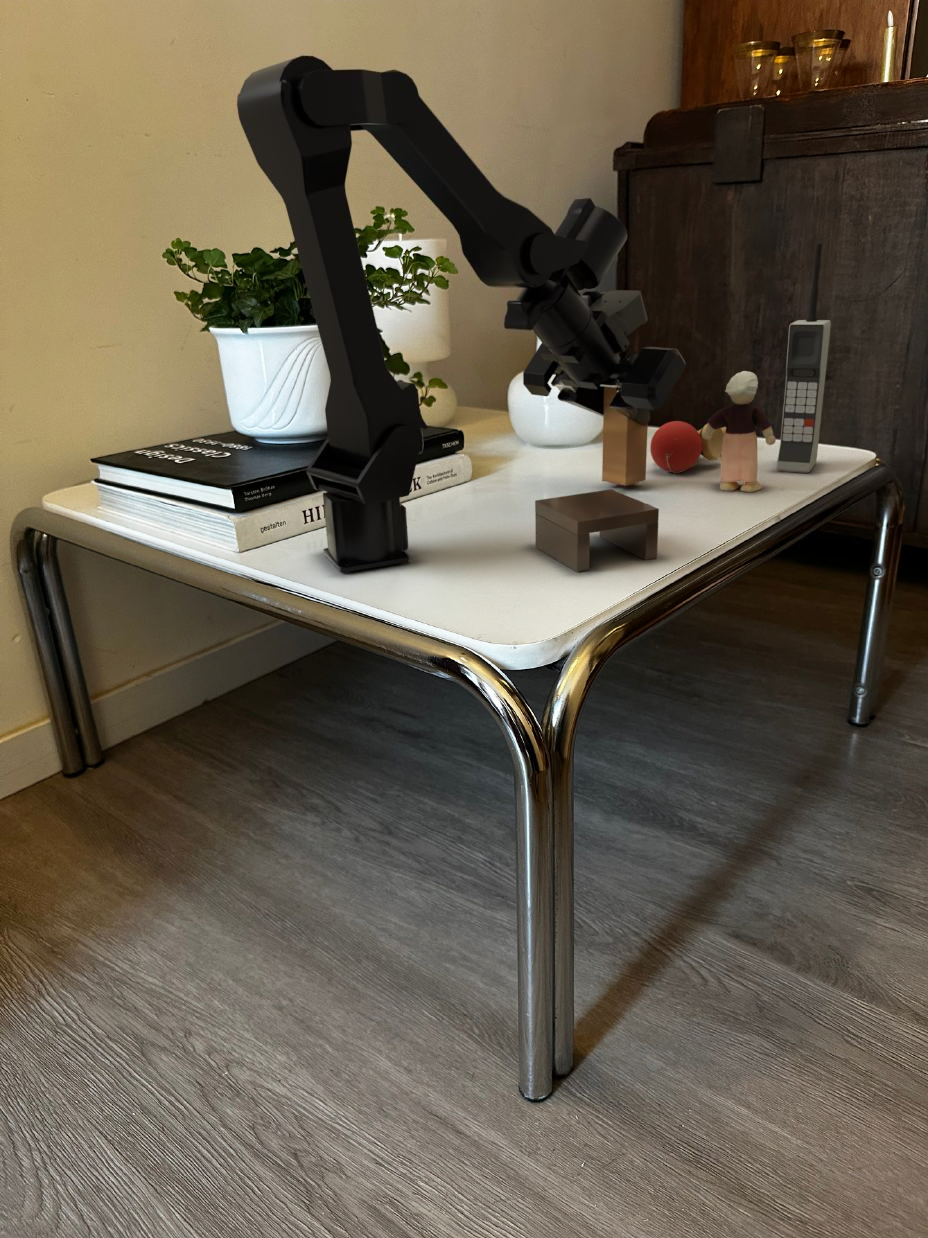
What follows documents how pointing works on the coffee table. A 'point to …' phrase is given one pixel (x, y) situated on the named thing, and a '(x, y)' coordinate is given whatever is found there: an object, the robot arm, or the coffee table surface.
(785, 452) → the vintage mobile phone
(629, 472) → the block
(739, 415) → the grandmother figurine
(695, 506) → the coffee table surface
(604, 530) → the shelf
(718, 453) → the kendama
